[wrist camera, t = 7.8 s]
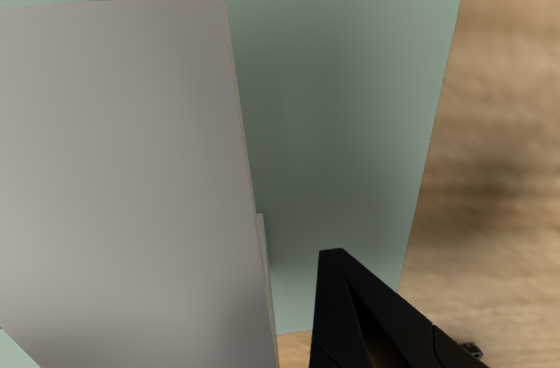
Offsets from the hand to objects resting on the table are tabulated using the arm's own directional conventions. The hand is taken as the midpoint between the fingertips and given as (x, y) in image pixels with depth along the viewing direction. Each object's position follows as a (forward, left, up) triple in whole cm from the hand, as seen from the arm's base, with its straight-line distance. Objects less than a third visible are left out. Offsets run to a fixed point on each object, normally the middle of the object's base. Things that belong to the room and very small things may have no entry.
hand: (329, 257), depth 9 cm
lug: (+3, +4, -1) cm, 5 cm away
